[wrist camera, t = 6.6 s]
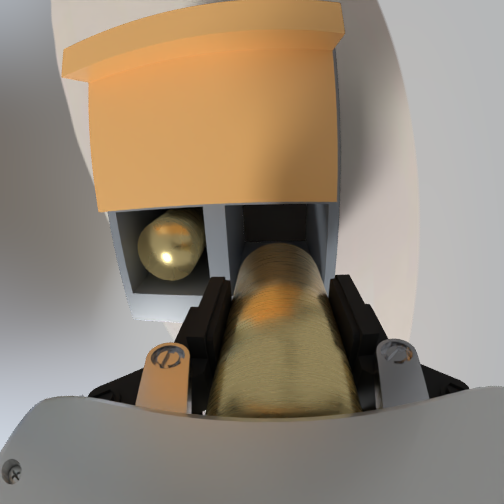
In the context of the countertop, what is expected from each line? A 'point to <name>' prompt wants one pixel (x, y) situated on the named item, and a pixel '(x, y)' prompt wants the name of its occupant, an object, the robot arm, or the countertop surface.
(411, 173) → the countertop surface
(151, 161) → the cover
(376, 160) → the countertop surface
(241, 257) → the housing
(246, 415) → the pin
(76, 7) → the countertop surface
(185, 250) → the pin
